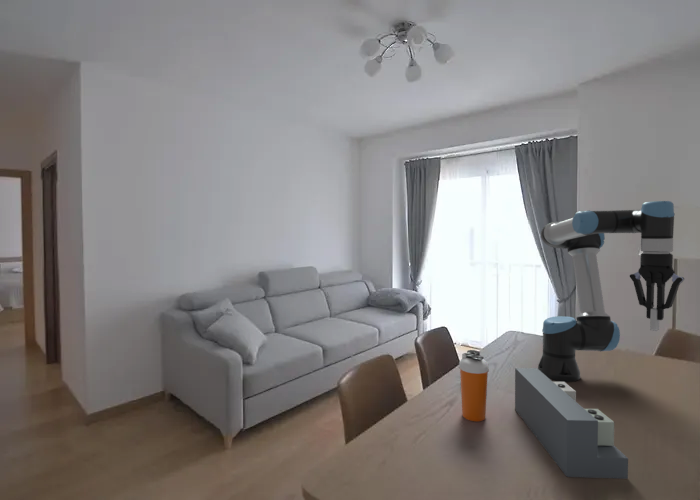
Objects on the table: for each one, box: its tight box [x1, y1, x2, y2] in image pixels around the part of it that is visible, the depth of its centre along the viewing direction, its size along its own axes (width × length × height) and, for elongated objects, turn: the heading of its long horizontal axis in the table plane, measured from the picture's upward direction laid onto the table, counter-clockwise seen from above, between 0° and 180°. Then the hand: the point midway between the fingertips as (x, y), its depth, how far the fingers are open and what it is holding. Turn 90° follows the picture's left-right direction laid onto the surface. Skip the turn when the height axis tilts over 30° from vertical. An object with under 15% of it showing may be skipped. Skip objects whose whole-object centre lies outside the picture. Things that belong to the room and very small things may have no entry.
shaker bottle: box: [458, 352, 490, 422], centre depth 119 cm, size 9×9×20 cm
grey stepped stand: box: [514, 367, 629, 480], centre depth 106 cm, size 14×34×14 cm, turn 176°
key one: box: [553, 381, 577, 402], centre depth 114 cm, size 5×7×6 cm
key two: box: [584, 408, 615, 446], centre depth 96 cm, size 5×7×6 cm
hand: (654, 329), depth 113 cm, fingers closed
